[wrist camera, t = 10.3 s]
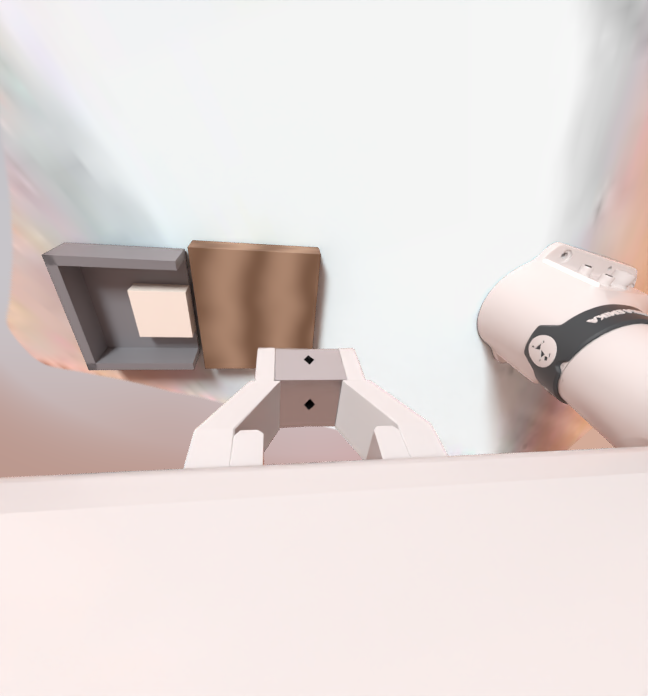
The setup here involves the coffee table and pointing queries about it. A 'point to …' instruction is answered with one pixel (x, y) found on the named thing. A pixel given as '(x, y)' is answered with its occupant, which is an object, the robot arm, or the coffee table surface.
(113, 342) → the box
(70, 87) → the coffee table surface
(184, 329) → the tile
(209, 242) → the board
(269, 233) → the coffee table surface
